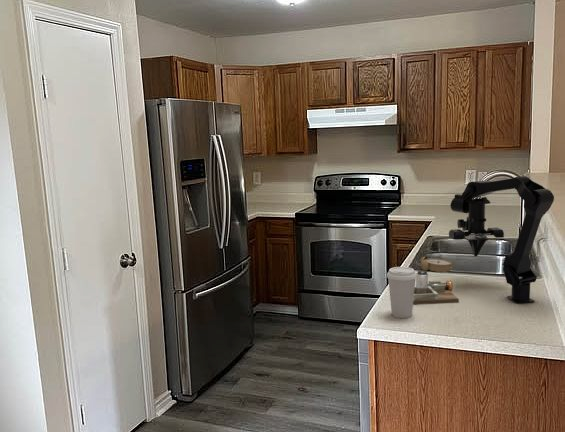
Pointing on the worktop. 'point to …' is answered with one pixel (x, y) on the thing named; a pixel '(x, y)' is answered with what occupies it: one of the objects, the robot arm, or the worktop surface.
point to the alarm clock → (434, 264)
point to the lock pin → (447, 285)
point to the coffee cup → (401, 291)
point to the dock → (435, 295)
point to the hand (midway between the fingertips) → (475, 256)
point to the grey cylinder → (422, 282)
